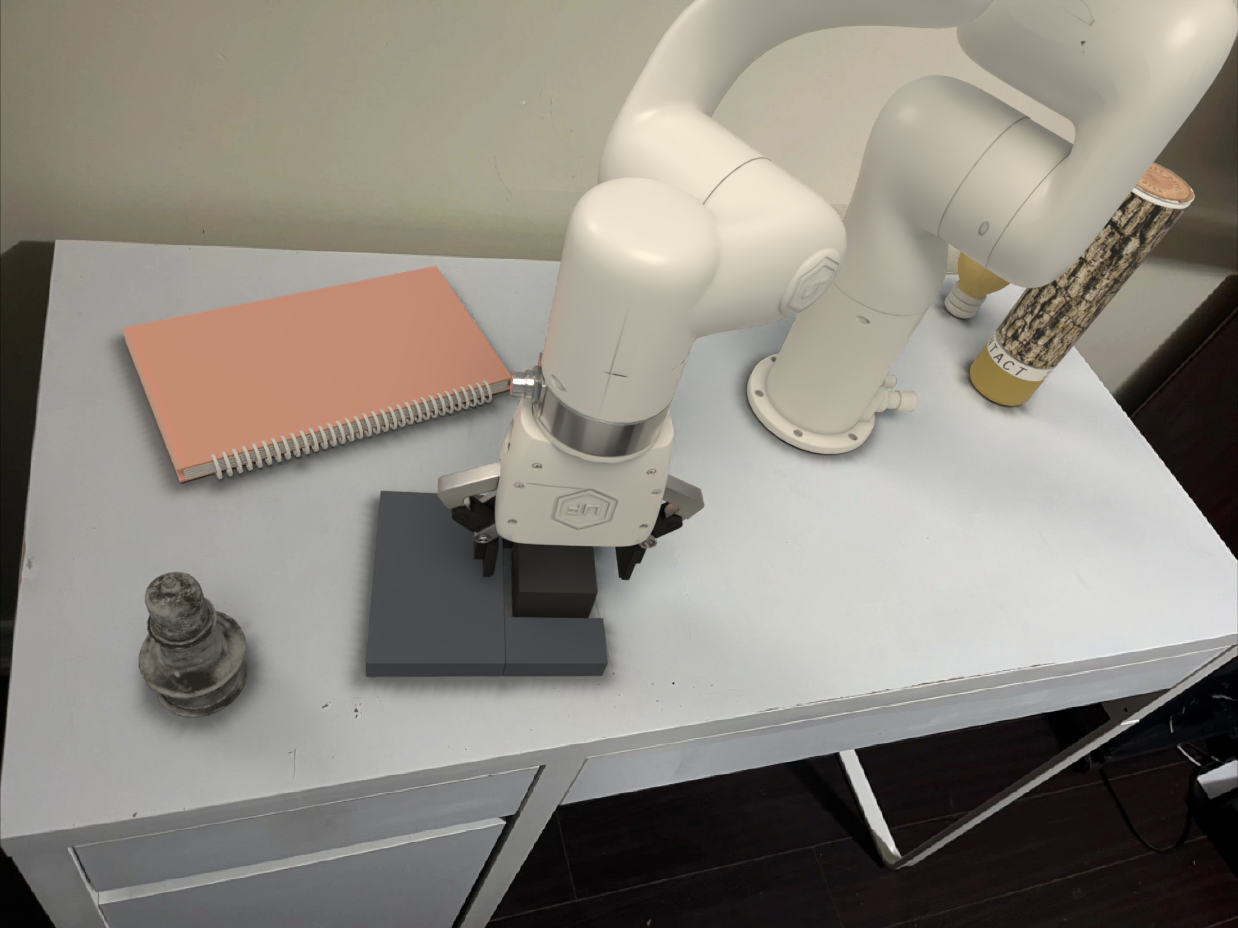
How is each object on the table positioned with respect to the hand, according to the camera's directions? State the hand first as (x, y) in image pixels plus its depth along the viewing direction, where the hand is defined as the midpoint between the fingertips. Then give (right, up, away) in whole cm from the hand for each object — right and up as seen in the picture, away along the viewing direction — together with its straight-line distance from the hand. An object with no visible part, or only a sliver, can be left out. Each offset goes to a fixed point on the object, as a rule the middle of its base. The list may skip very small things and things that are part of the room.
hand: (555, 561), depth 61 cm
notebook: (-20, +15, +12) cm, 28 cm away
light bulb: (+43, +24, +38) cm, 63 cm away
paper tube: (+45, +15, +30) cm, 56 cm away
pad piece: (-1, -2, +3) cm, 4 cm away
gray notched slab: (-5, -2, +2) cm, 6 cm away
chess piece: (-22, -7, -6) cm, 24 cm away
